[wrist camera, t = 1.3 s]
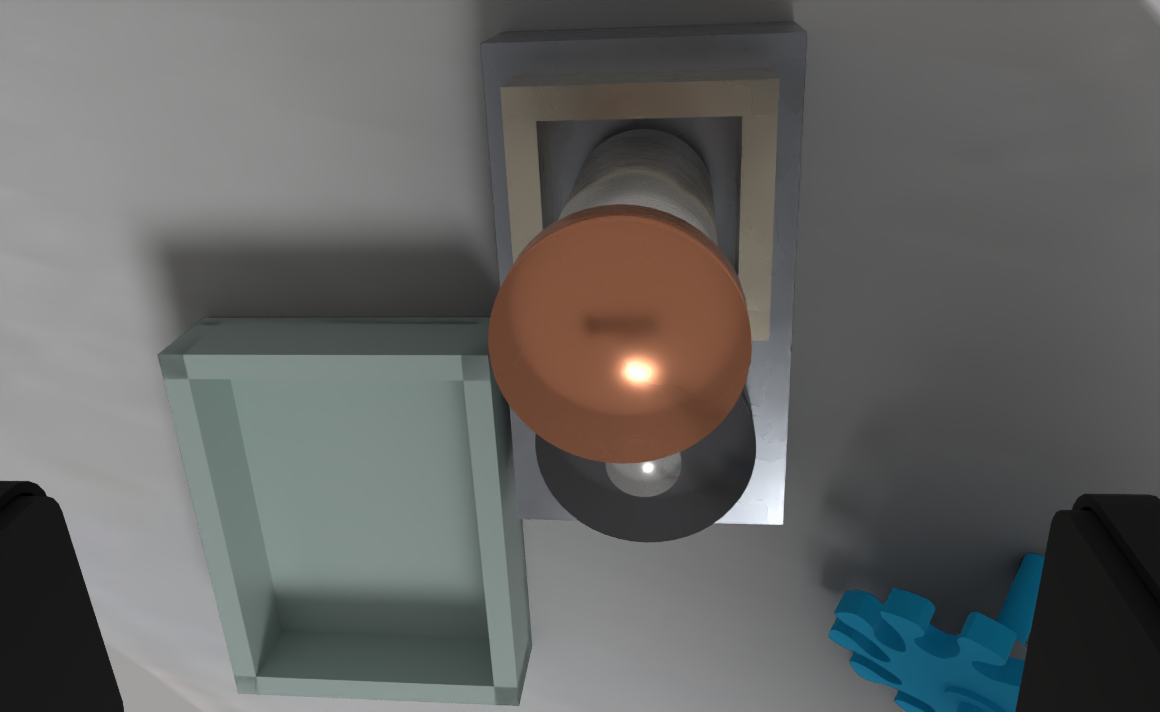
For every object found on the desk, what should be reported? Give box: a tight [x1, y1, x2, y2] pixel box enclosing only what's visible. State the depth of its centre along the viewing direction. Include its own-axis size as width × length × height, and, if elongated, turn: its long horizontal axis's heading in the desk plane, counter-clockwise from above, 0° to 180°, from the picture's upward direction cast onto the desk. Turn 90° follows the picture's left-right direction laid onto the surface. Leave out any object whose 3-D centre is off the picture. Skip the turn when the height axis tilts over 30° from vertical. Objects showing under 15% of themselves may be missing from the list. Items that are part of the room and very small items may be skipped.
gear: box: [829, 553, 1045, 712], centre depth 30 cm, size 11×6×10 cm
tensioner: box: [481, 22, 807, 542], centre depth 26 cm, size 14×8×6 cm, turn 2°
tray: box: [158, 317, 532, 706], centre depth 32 cm, size 13×10×3 cm
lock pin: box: [488, 129, 752, 464], centre depth 21 cm, size 4×4×10 cm
